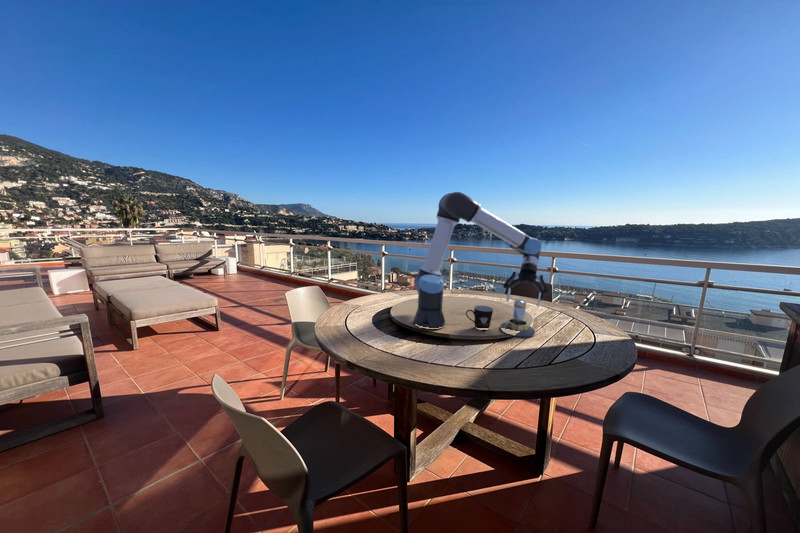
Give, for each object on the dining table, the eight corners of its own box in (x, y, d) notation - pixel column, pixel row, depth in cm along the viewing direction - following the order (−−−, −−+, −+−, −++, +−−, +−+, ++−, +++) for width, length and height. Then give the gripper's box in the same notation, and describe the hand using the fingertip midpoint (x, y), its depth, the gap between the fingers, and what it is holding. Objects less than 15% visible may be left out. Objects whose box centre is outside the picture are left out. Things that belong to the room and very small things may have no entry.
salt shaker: (509, 326, 138) (511, 300, 135) (517, 325, 140) (520, 299, 137) (517, 330, 133) (520, 303, 130) (525, 329, 135) (529, 302, 132)
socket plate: (493, 326, 140) (494, 318, 140) (517, 323, 146) (518, 314, 145) (516, 339, 127) (517, 330, 126) (541, 335, 132) (543, 325, 132)
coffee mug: (493, 327, 140) (495, 307, 138) (488, 333, 132) (490, 312, 131) (470, 322, 146) (471, 303, 144) (463, 327, 139) (465, 307, 137)
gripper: (556, 274, 144) (551, 311, 134) (503, 268, 156) (495, 302, 146) (557, 265, 138) (552, 303, 128) (503, 259, 150) (494, 294, 140)
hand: (522, 303), depth 137 cm, fingers open, 13 cm apart
